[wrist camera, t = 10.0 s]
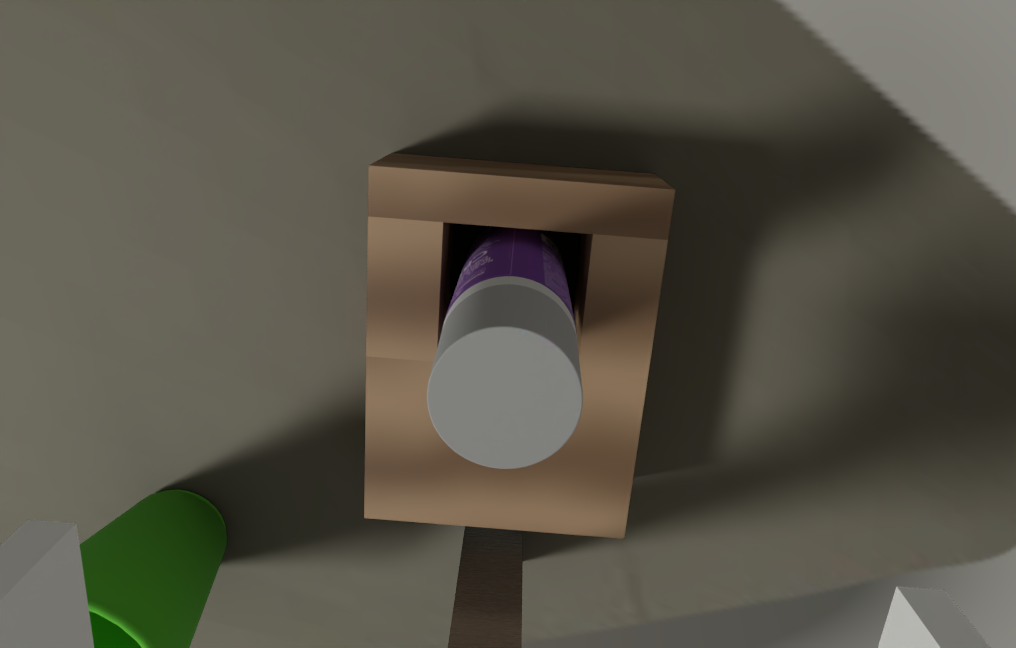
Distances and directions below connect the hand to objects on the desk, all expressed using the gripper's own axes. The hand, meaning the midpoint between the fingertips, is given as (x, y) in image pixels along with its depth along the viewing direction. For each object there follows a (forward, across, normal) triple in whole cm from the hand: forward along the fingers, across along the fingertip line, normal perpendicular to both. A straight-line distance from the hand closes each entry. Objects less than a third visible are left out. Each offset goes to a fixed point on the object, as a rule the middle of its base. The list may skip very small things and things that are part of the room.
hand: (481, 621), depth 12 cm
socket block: (+24, 0, -4) cm, 24 cm away
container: (+24, 0, 0) cm, 24 cm away
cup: (+24, -17, -16) cm, 34 cm away
